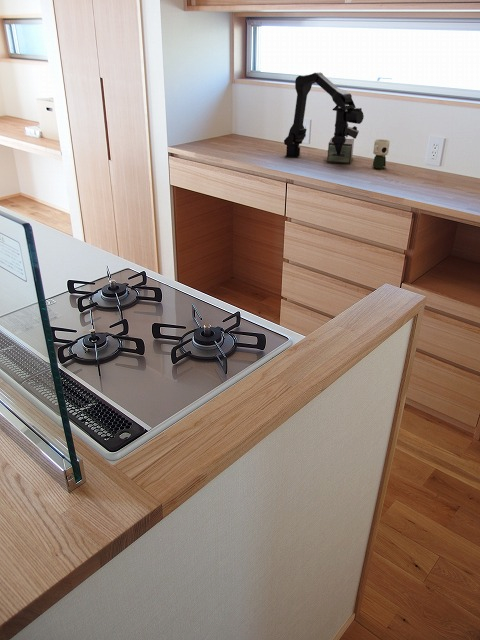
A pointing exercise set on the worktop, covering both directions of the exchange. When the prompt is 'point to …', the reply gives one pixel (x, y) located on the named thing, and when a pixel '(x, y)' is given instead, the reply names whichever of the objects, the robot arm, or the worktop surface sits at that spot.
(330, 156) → the drawer
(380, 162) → the toy figurine
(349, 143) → the cabinet
